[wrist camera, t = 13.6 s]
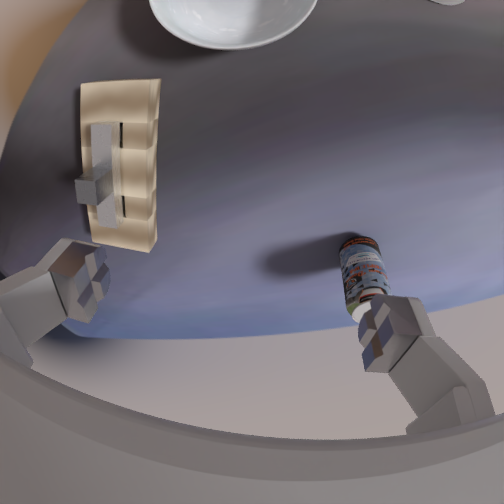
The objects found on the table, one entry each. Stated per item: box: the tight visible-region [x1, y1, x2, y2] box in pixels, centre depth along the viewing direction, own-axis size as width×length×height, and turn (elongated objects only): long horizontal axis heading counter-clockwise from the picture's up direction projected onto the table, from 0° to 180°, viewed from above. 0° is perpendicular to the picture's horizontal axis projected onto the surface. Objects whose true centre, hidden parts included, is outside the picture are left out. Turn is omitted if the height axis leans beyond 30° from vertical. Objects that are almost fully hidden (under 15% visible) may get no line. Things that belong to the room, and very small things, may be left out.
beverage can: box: [339, 236, 392, 323], centre depth 37 cm, size 6×7×12 cm
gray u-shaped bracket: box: [75, 121, 125, 229], centre depth 32 cm, size 14×3×10 cm, turn 172°
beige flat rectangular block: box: [80, 79, 161, 253], centre depth 35 cm, size 24×10×4 cm, turn 171°
